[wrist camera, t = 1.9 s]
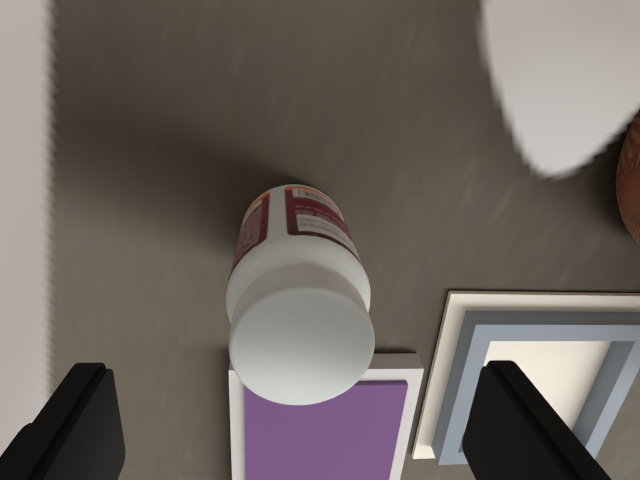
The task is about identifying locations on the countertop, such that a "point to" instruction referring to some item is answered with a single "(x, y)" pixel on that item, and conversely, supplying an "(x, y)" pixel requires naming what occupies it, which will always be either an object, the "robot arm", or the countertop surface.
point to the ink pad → (328, 428)
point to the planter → (630, 180)
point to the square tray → (532, 360)
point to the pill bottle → (298, 300)
